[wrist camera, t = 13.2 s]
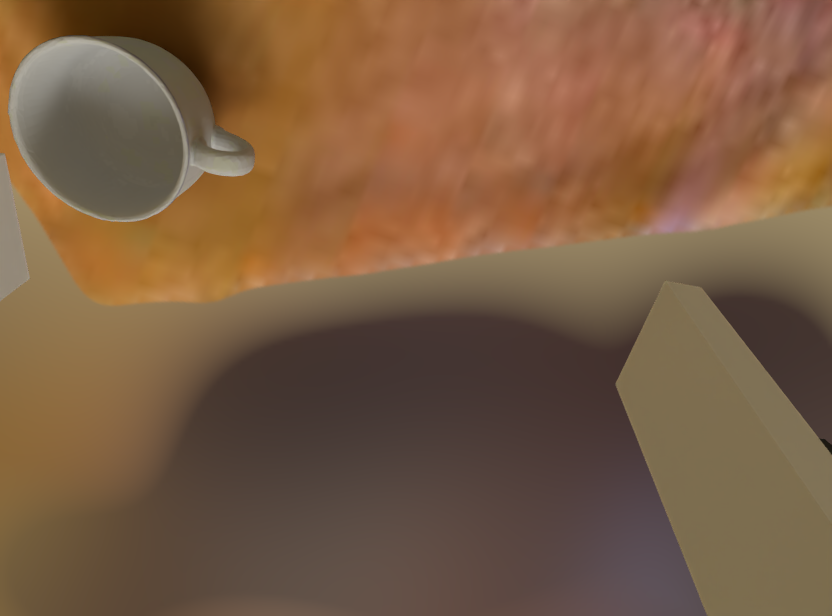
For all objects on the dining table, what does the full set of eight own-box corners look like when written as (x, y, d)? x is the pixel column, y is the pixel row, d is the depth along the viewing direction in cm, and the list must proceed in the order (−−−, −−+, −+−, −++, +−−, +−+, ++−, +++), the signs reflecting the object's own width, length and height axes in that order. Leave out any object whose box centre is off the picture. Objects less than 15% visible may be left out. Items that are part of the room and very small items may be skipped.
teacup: (71, 145, 42) (-2, 181, 35) (89, -7, 37) (7, 0, 30) (251, 220, 45) (216, 266, 38) (293, 88, 39) (260, 114, 32)
